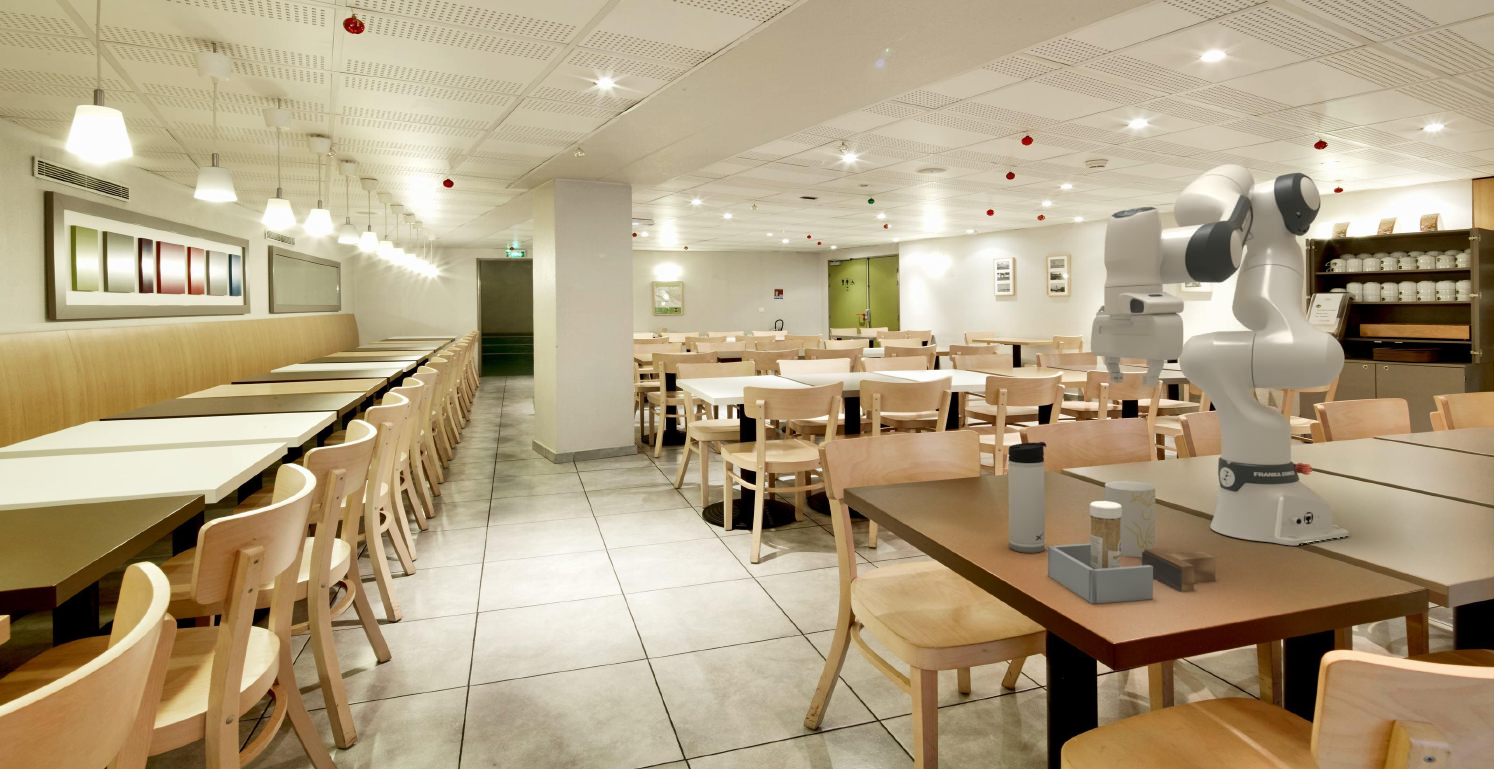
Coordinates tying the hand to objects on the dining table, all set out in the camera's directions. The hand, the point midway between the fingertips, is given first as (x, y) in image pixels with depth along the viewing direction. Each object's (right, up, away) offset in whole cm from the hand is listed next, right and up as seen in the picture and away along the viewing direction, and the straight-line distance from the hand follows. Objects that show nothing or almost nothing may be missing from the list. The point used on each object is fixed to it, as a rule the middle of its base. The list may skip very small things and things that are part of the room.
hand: (1132, 384), depth 127 cm
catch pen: (-11, -32, -10) cm, 35 cm away
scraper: (+4, -32, -8) cm, 33 cm away
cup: (+4, -31, +8) cm, 32 cm away
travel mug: (-14, -31, +11) cm, 36 cm away
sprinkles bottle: (-9, -32, -10) cm, 35 cm away
